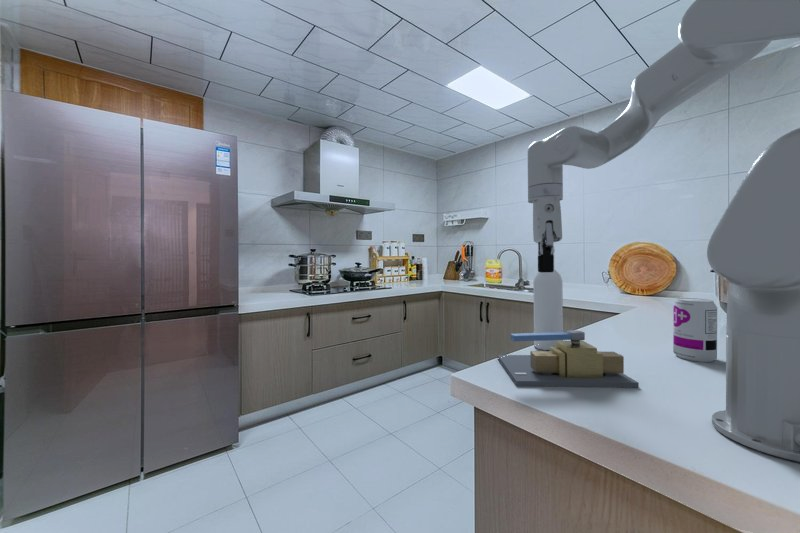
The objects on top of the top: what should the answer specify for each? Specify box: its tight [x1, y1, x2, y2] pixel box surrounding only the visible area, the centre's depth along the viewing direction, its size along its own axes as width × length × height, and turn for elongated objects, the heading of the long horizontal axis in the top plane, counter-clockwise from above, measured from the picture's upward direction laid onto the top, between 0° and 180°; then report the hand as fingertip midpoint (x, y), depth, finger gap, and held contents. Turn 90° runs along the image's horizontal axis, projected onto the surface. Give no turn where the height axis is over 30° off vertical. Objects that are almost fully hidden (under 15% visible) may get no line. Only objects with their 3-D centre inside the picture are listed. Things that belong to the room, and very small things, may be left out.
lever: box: [510, 329, 586, 342], centre depth 70 cm, size 16×4×1 cm, turn 92°
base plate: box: [496, 354, 640, 389], centre depth 74 cm, size 18×24×1 cm
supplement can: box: [672, 297, 718, 363], centre depth 82 cm, size 8×8×15 cm
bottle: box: [532, 245, 564, 351], centre depth 93 cm, size 8×8×30 cm
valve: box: [529, 340, 625, 378], centre depth 70 cm, size 6×18×8 cm, turn 85°
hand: (545, 272), depth 76 cm, fingers closed
